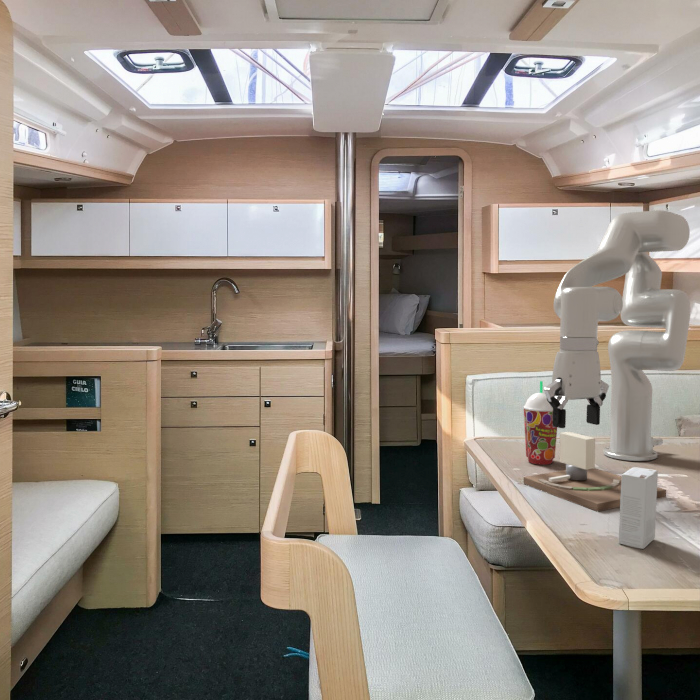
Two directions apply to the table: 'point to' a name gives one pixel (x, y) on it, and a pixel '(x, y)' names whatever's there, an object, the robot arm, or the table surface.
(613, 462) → the table surface
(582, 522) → the table surface
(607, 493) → the tuner board
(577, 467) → the pointer knob
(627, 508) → the skincare box
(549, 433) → the smoothie
